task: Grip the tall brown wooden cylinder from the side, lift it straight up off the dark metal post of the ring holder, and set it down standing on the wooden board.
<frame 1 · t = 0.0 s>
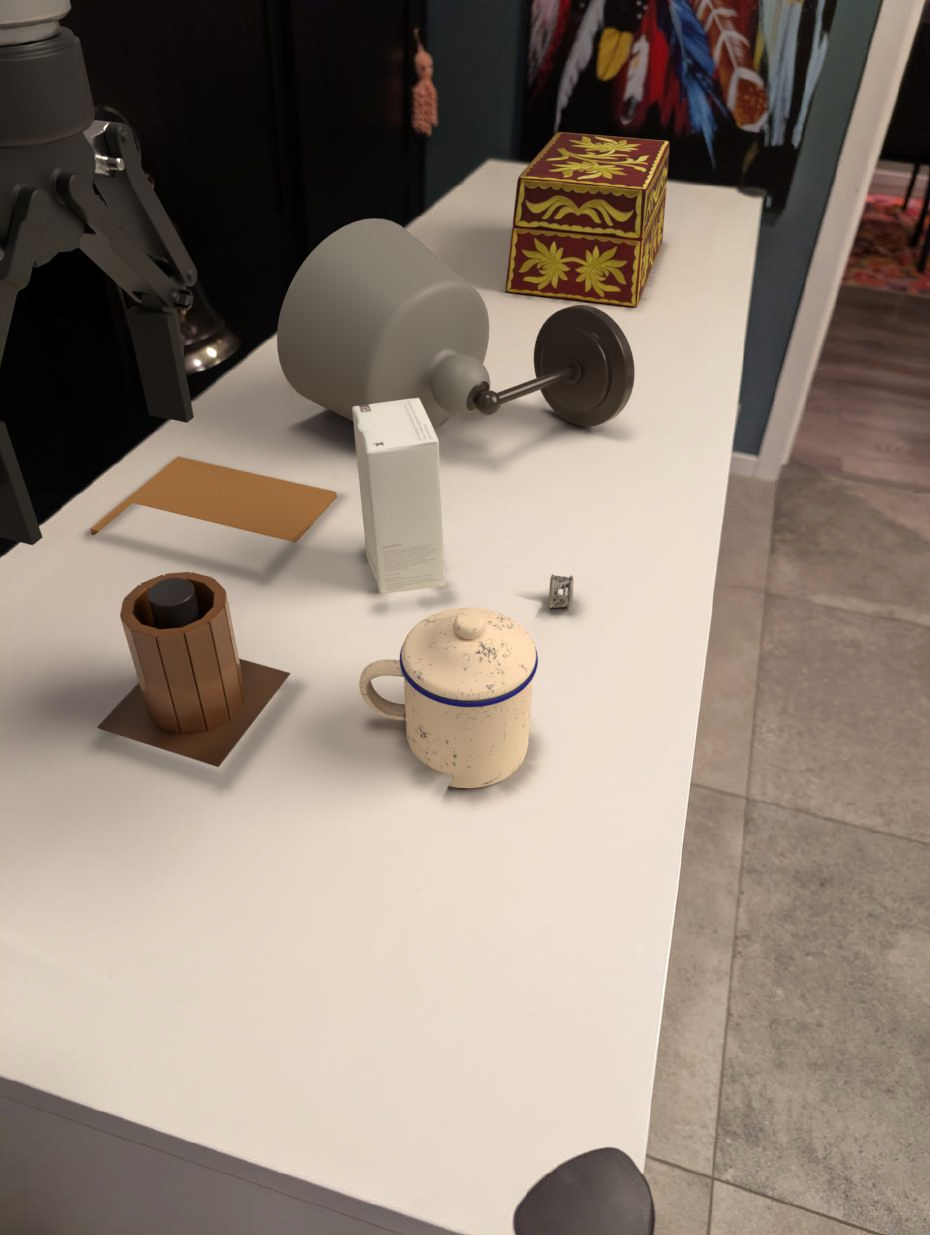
hand: (101, 471, 53), 23 cm above the table, tool pointing down, fingers open, 13 cm apart
ring holder: (200, 713, 71), on the table
decorative ring: (559, 606, 81), on the table
teacup with lid: (447, 744, 69), on the table
light fixture: (454, 434, 103), on the table
brown wooden cylinder: (196, 699, 70), point 1 cm above the table, touching ring holder
decorative box: (587, 267, 142), on the table
cosmetic box: (402, 576, 84), on the table
wooden board: (217, 515, 91), on the table
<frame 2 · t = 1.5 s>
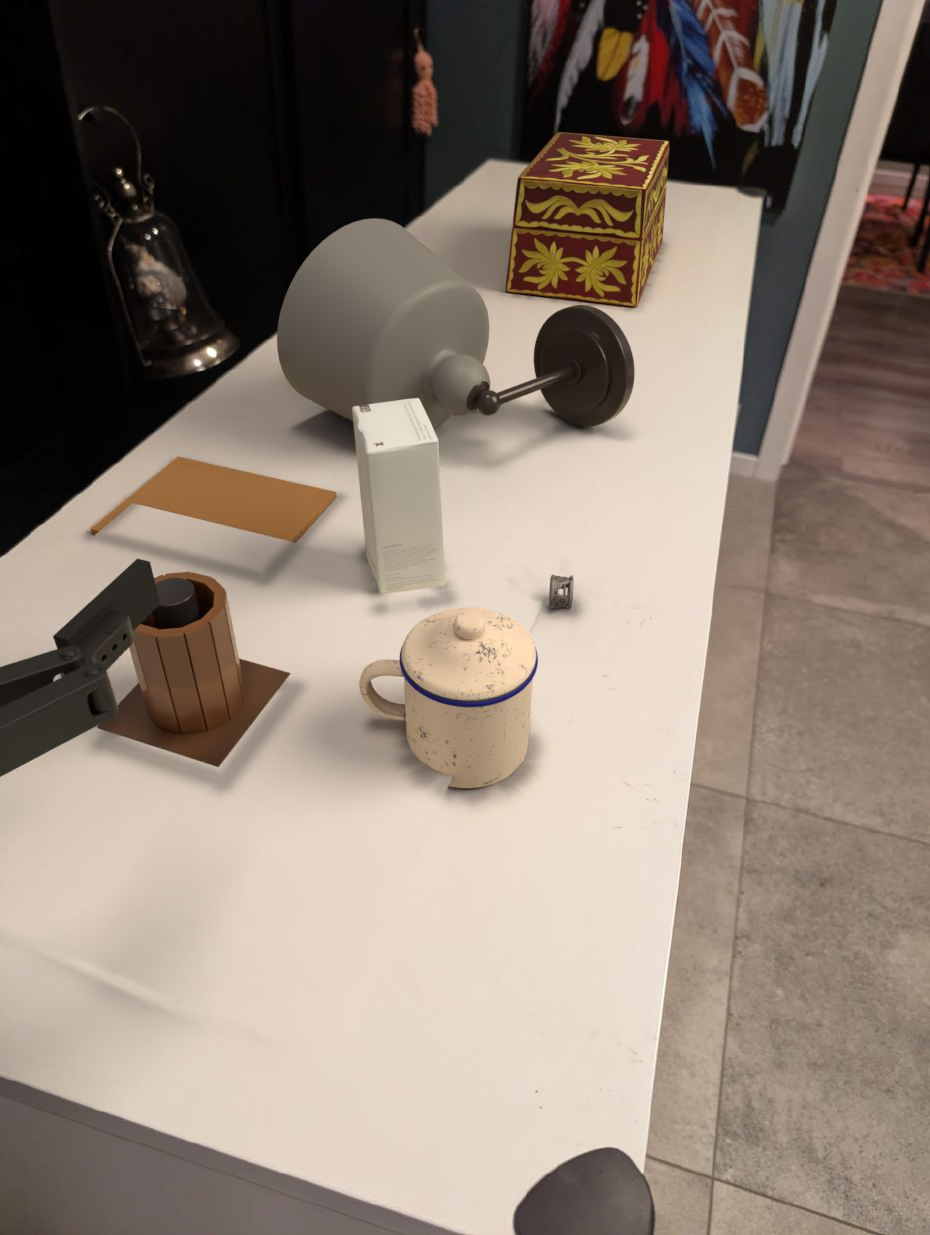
hand: (41, 554, 51), 20 cm above the table, tool horizontal, fingers open, 13 cm apart
nothing on the table moved.
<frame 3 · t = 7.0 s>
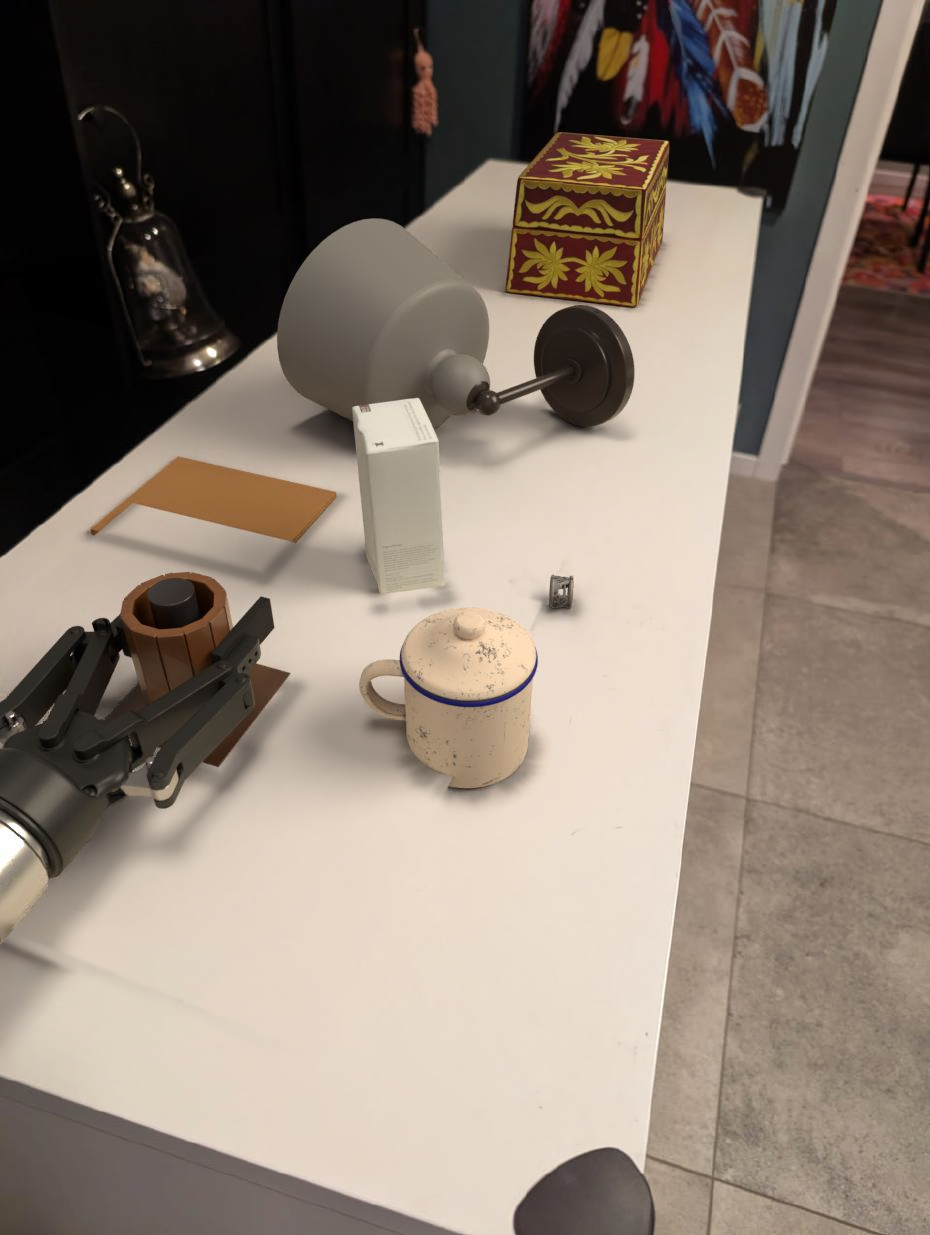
hand: (222, 600, 70), 7 cm above the table, tool horizontal, fingers closed on brown wooden cylinder, 7 cm apart
brown wooden cylinder: (196, 699, 70), point 1 cm above the table, touching gripper, ring holder
everything else where it was.
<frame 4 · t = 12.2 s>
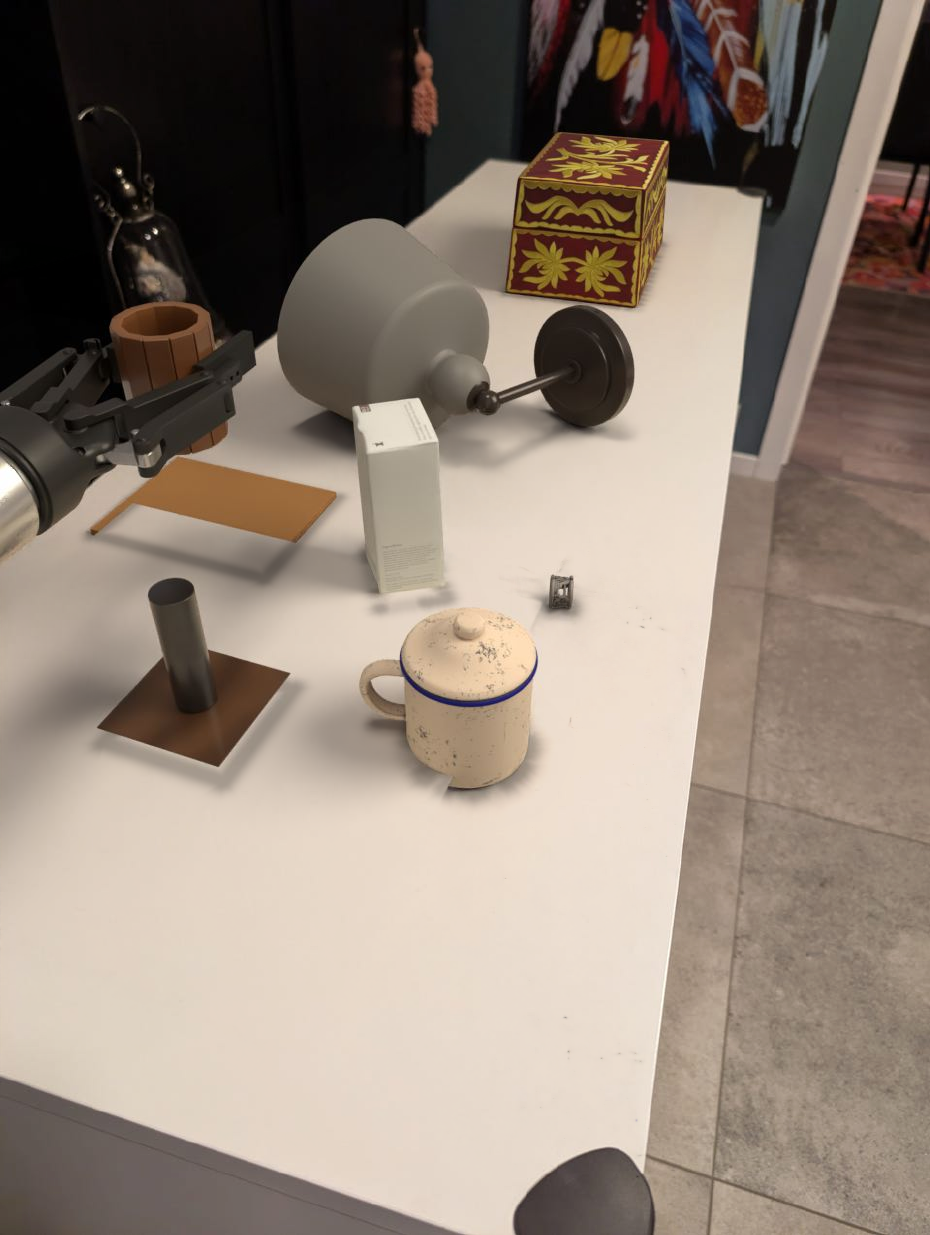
hand: (207, 339, 74), 20 cm above the table, tool horizontal, fingers closed on brown wooden cylinder, 7 cm apart
brown wooden cylinder: (182, 433, 74), point 14 cm above the table, touching gripper
everything else where it was.
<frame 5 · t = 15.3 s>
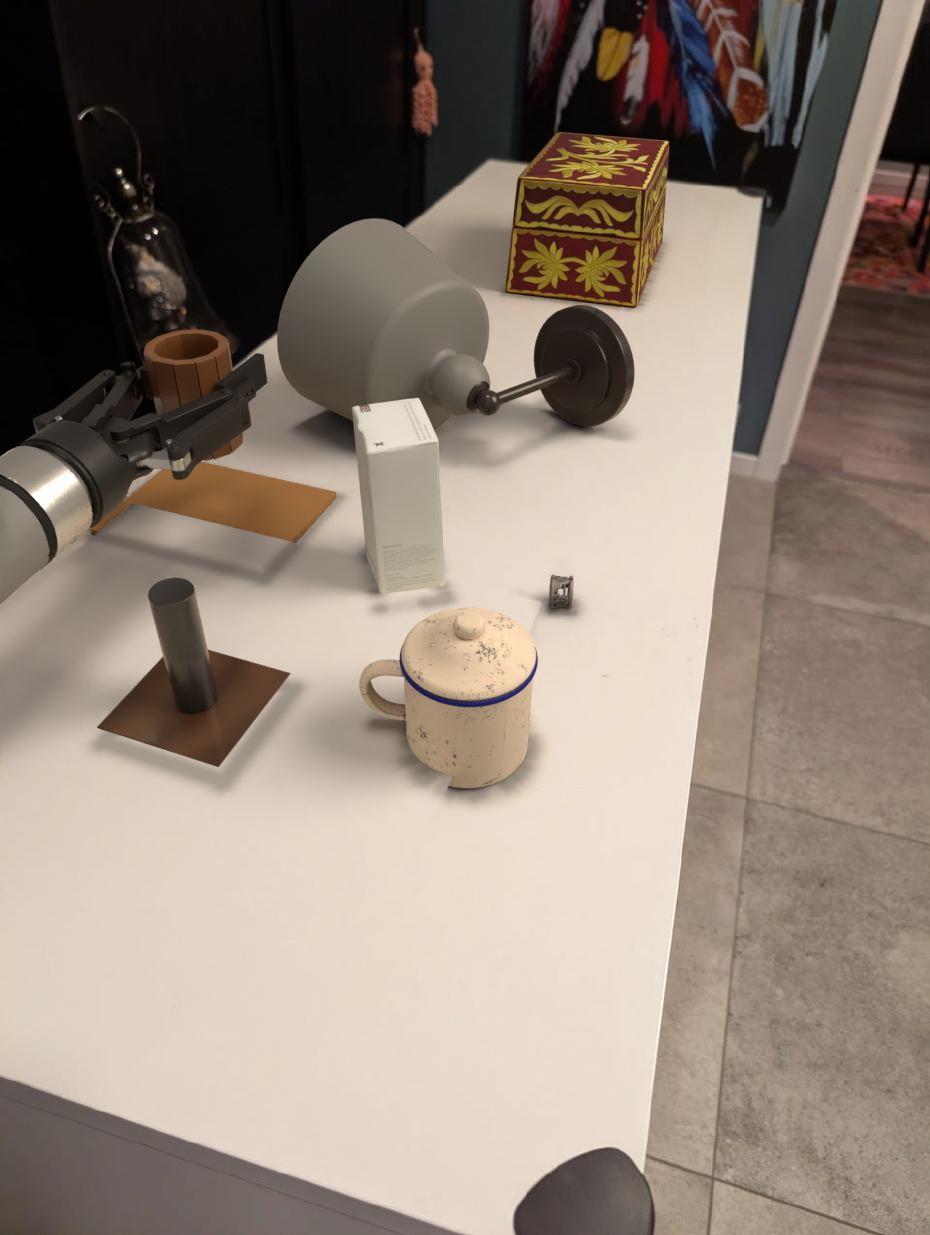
hand: (224, 361, 86), 13 cm above the table, tool horizontal, fingers closed on brown wooden cylinder, 7 cm apart
brown wooden cylinder: (204, 441, 86), point 8 cm above the table, touching gripper
everything else where it was.
when the fingers open (6 cm above the table, at t = 17.7 s): brown wooden cylinder stays where it is, resting on wooden board.
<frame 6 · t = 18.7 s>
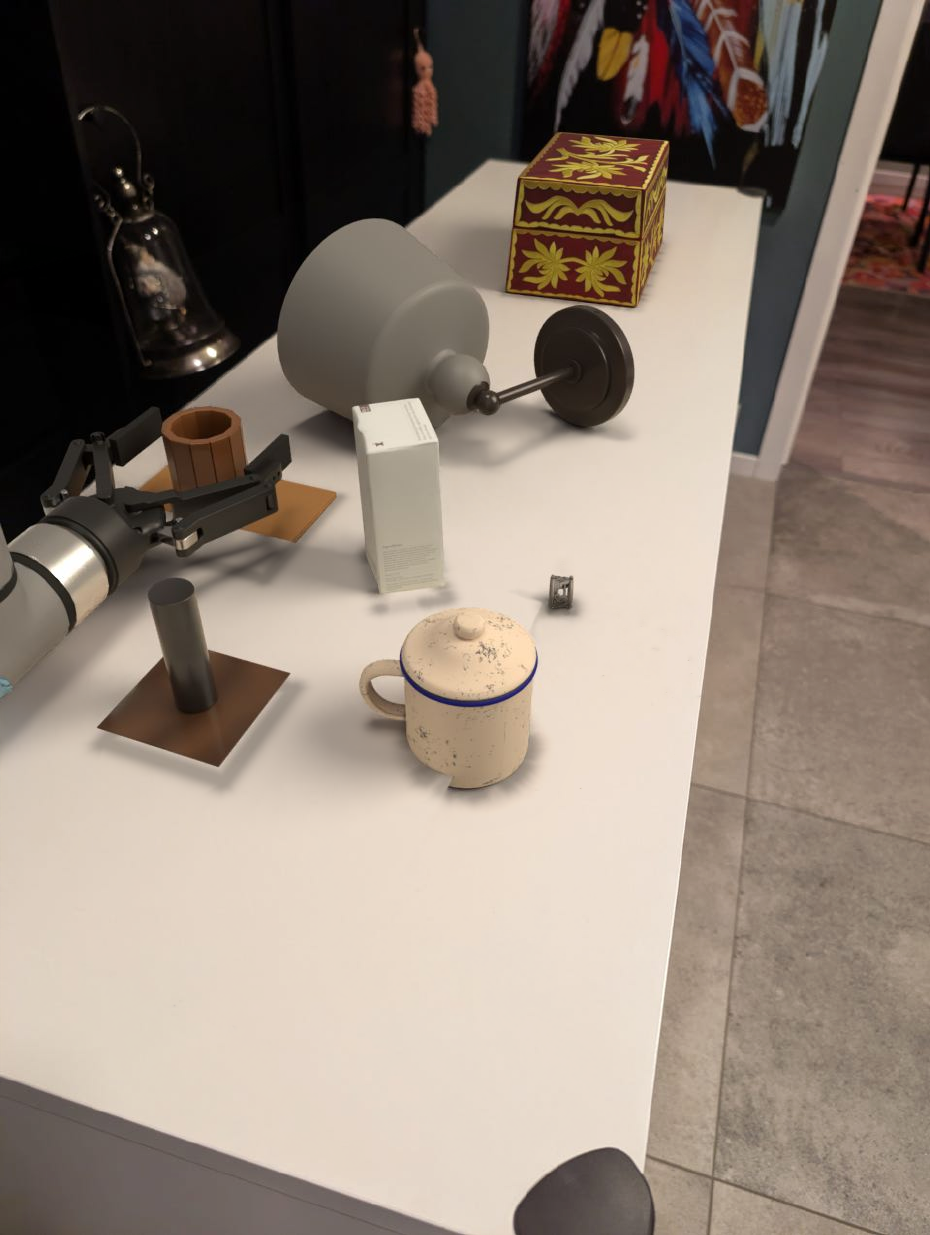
hand: (221, 433, 88), 7 cm above the table, tool horizontal, fingers open, 13 cm apart
brown wooden cylinder: (217, 509, 90), point 1 cm above the table, touching wooden board
everything else where it was.
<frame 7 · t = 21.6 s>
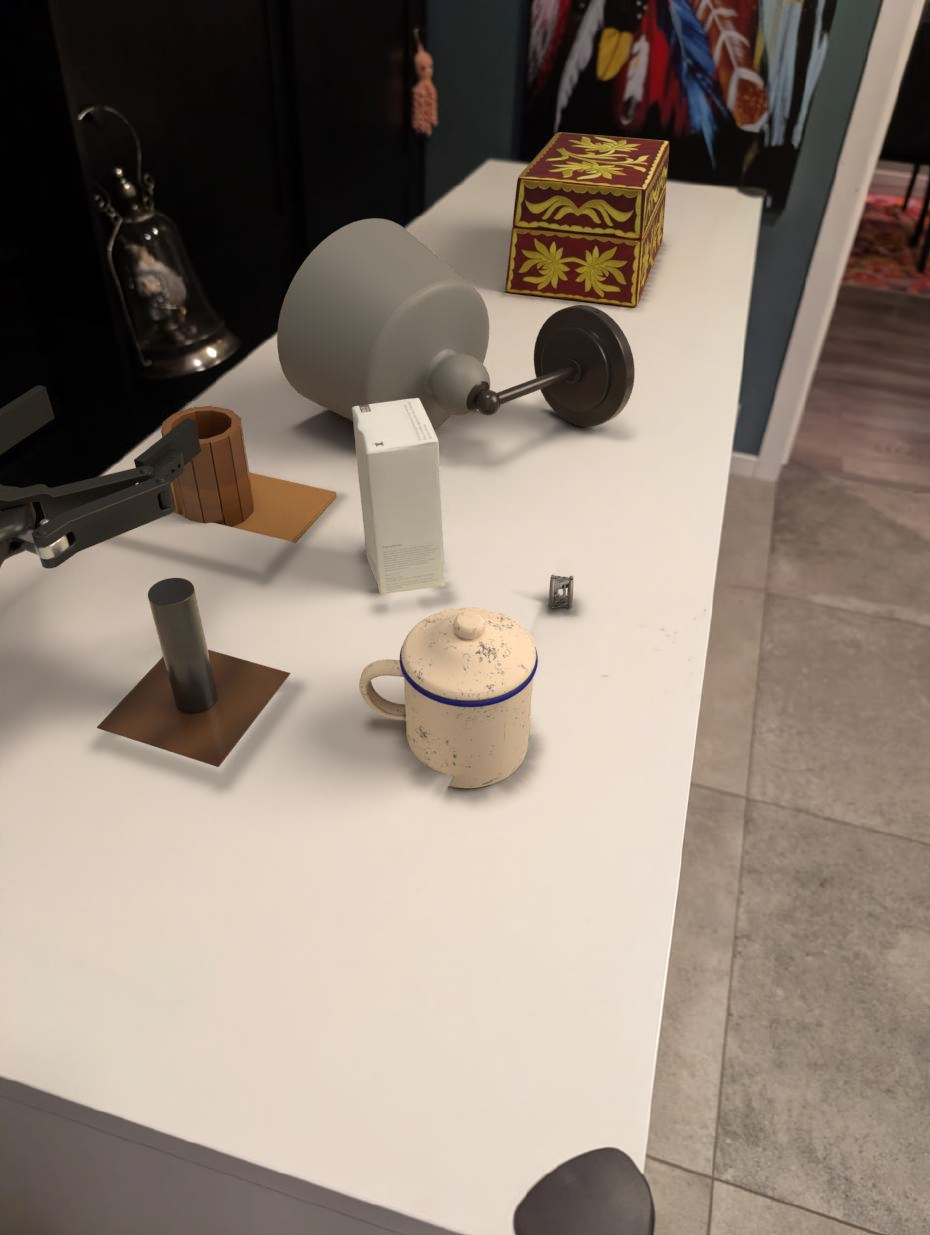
hand: (118, 417, 74), 15 cm above the table, tool horizontal, fingers open, 13 cm apart
nothing on the table moved.
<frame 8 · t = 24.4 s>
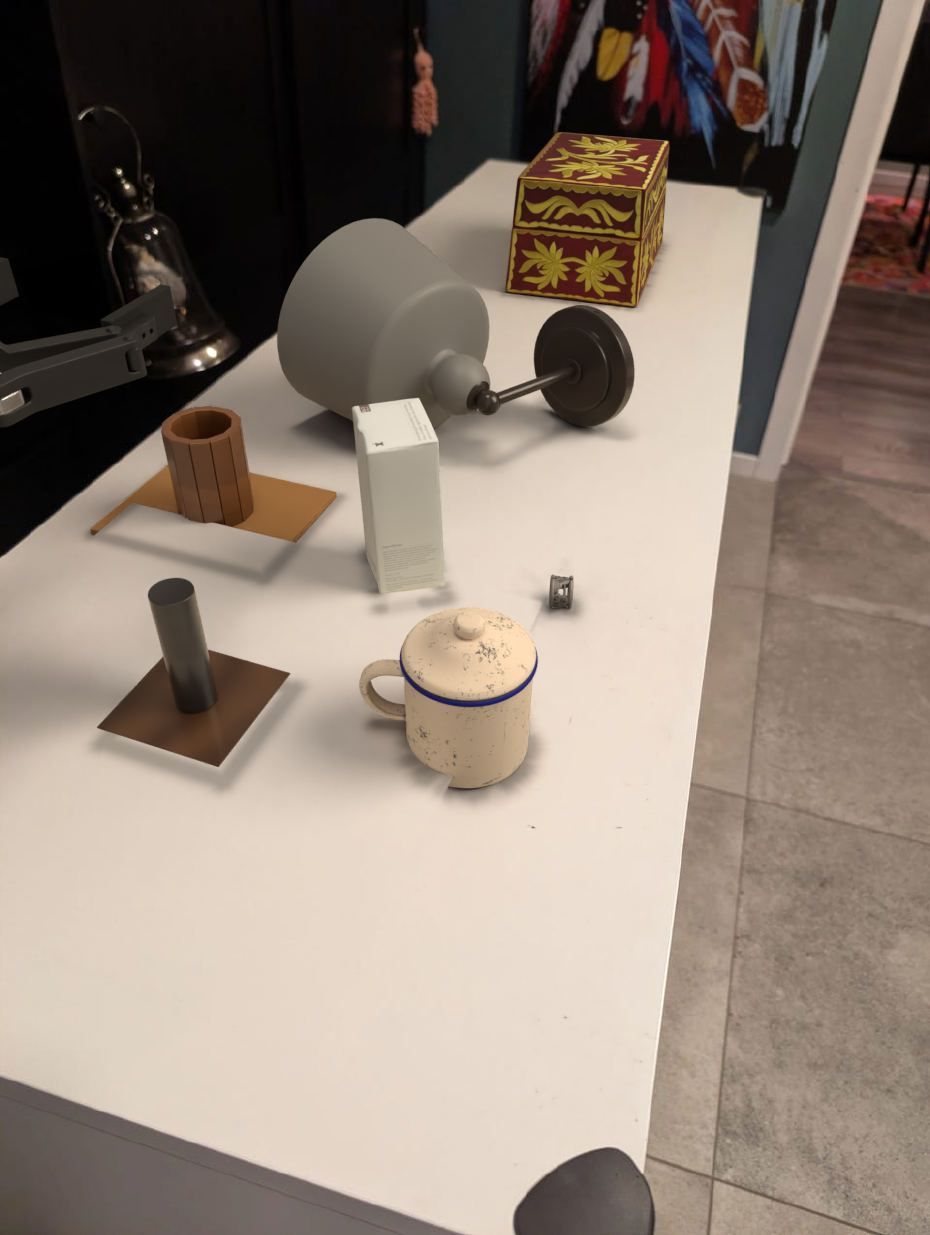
hand: (87, 290, 68), 25 cm above the table, tool horizontal, fingers open, 13 cm apart
nothing on the table moved.
at the end: brown wooden cylinder inside the target area on the wooden board (0.1 cm from its centre), point 0.6 cm above the wooden board's base; brown wooden cylinder tilted 0°; the gripper is holding nothing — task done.
